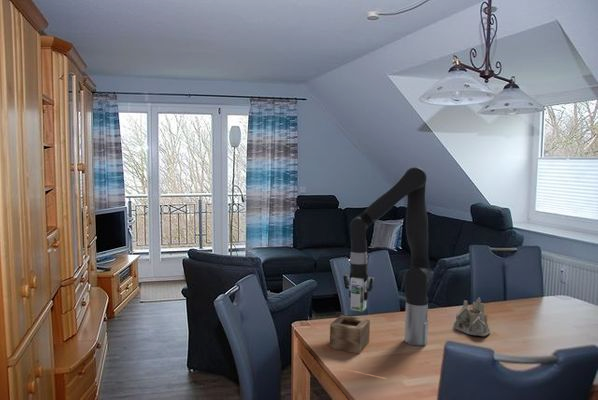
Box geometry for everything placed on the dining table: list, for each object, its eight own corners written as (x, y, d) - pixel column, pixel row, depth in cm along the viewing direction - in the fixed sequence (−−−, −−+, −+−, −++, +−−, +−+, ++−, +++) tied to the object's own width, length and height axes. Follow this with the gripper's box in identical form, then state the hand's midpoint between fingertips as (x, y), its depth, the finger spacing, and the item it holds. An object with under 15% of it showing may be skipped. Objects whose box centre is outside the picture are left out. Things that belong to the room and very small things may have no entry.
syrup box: (350, 310, 199) (350, 277, 199) (354, 306, 205) (354, 275, 204) (362, 312, 197) (362, 279, 196) (366, 308, 202) (367, 276, 201)
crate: (369, 342, 193) (369, 319, 192) (359, 353, 181) (360, 329, 180) (340, 337, 198) (341, 315, 198) (329, 347, 187) (330, 324, 186)
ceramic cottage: (455, 323, 219) (457, 292, 218) (492, 329, 211) (493, 298, 210) (448, 333, 206) (450, 301, 205) (487, 340, 198) (489, 307, 196)
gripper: (377, 261, 200) (376, 299, 201) (346, 258, 206) (346, 295, 207) (372, 264, 193) (371, 303, 194) (340, 262, 199) (340, 299, 200)
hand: (358, 299), depth 200 cm, fingers closed on syrup box, 5 cm apart
